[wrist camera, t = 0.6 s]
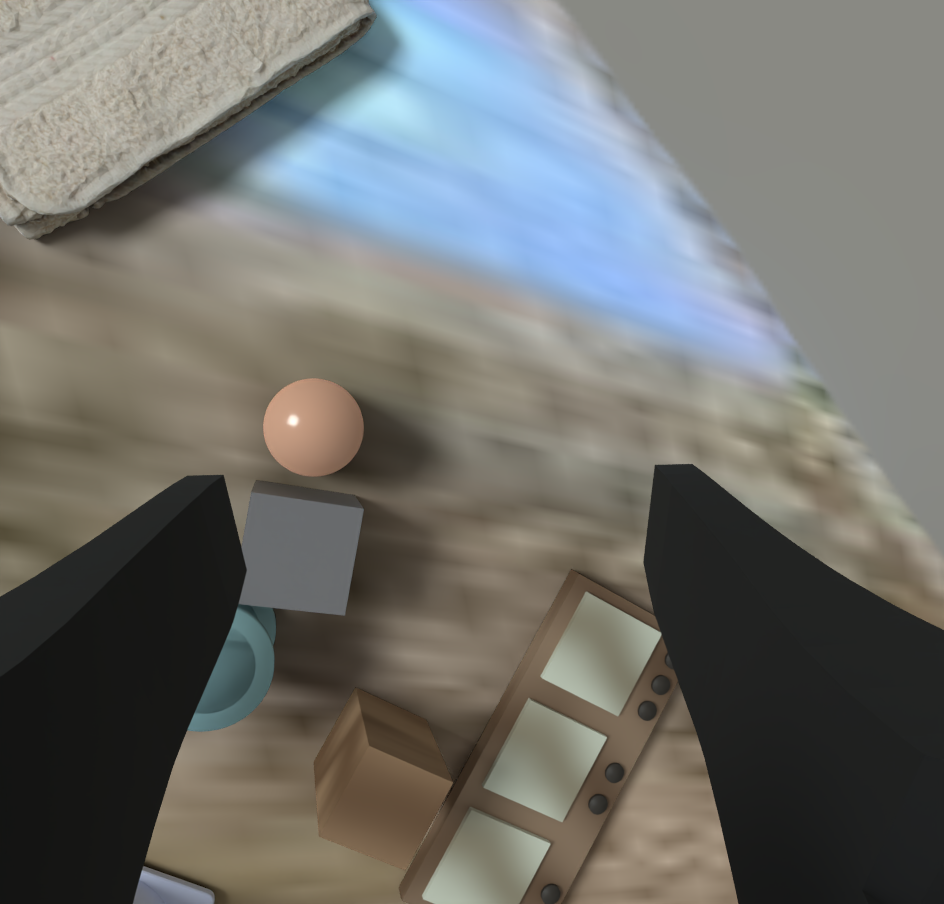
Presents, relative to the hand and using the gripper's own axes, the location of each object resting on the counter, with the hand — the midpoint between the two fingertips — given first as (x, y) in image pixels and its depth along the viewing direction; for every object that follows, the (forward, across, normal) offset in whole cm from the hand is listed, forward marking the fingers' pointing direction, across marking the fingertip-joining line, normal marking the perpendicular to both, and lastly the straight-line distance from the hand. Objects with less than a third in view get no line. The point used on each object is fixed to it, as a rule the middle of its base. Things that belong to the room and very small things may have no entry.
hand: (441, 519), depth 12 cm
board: (+14, -4, +25) cm, 29 cm away
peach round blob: (+19, +7, +8) cm, 22 cm away
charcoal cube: (+17, +8, +13) cm, 22 cm away
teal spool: (+14, +12, +16) cm, 24 cm away
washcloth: (+26, +14, -8) cm, 30 cm away
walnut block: (+13, +5, +22) cm, 26 cm away
